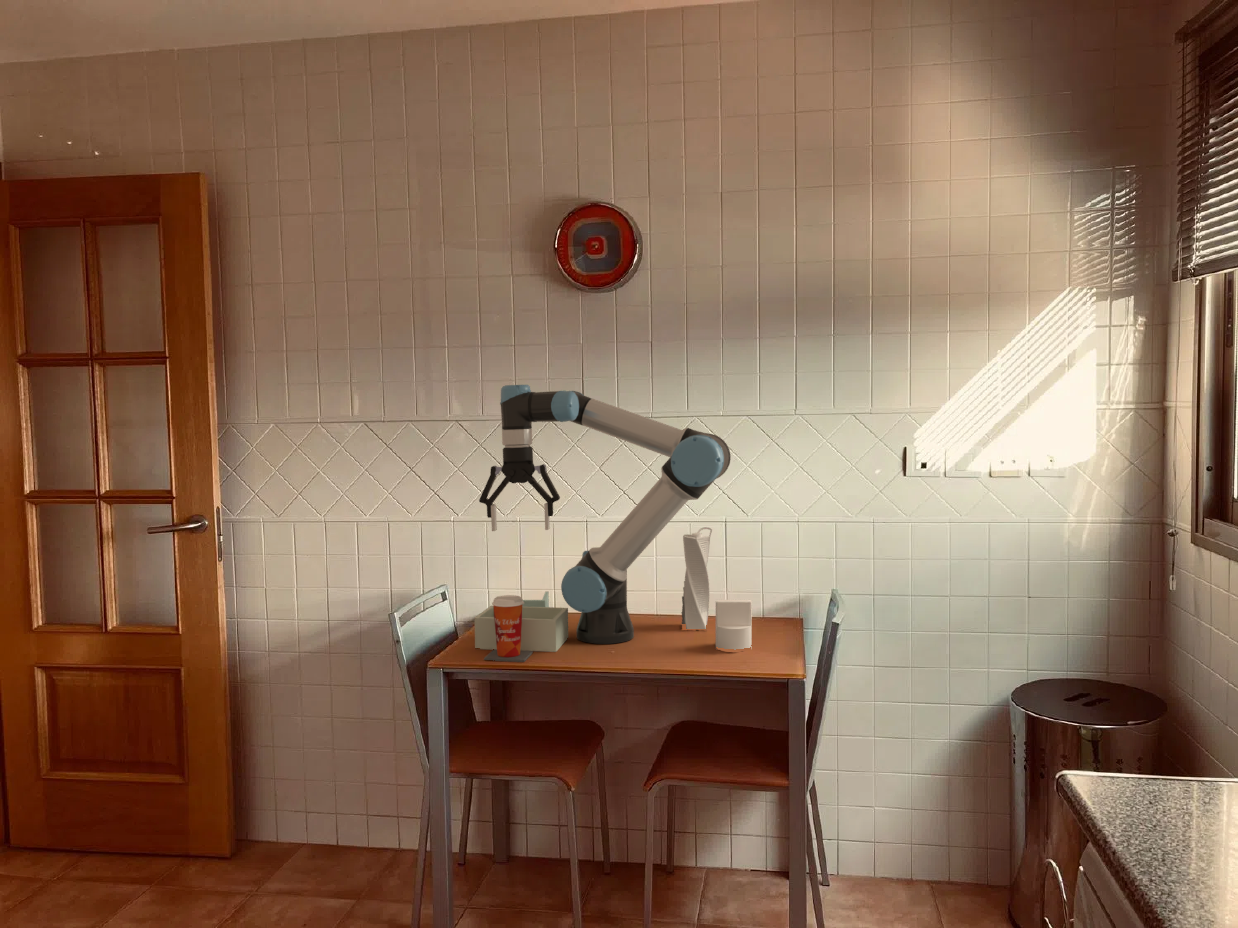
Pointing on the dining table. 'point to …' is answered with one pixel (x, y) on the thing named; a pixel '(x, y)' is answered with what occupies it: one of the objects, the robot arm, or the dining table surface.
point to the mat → (520, 658)
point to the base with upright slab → (733, 624)
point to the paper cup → (508, 624)
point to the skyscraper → (696, 581)
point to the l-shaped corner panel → (537, 602)
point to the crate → (527, 629)
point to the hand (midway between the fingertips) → (520, 530)
